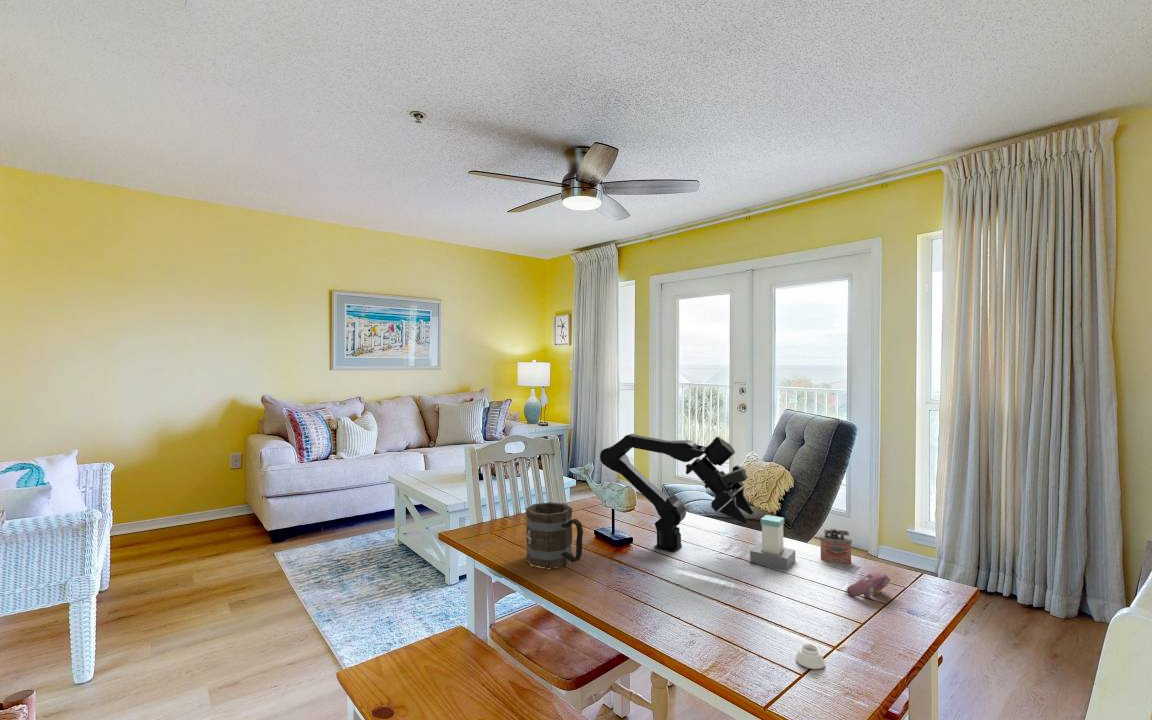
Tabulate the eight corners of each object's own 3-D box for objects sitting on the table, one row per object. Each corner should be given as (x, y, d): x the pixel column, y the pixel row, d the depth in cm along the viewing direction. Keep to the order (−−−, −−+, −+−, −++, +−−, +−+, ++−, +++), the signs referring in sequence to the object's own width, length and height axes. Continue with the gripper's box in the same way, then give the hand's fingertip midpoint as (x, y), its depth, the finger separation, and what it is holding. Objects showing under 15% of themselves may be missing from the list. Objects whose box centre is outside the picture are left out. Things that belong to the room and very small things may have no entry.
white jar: (827, 672, 96) (821, 657, 101) (827, 656, 96) (821, 642, 101) (798, 668, 97) (793, 654, 102) (797, 653, 97) (793, 639, 102)
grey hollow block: (750, 563, 146) (750, 550, 146) (759, 554, 152) (759, 542, 152) (787, 571, 140) (787, 558, 140) (795, 562, 146) (795, 550, 146)
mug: (516, 560, 151) (516, 508, 151) (550, 548, 160) (550, 499, 160) (564, 580, 137) (563, 523, 137) (598, 565, 147) (597, 512, 147)
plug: (760, 561, 146) (760, 518, 146) (766, 556, 150) (766, 514, 150) (779, 566, 143) (779, 522, 143) (784, 560, 147) (784, 517, 147)
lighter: (820, 564, 146) (820, 529, 146) (819, 560, 150) (819, 525, 150) (852, 568, 143) (852, 532, 143) (851, 564, 147) (850, 528, 147)
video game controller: (859, 606, 125) (872, 585, 122) (843, 591, 128) (855, 570, 125) (884, 598, 129) (897, 577, 126) (868, 583, 133) (880, 563, 130)
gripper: (722, 463, 144) (765, 508, 138) (736, 453, 160) (774, 492, 155) (694, 489, 147) (735, 534, 142) (710, 476, 164) (747, 516, 158)
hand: (749, 517), depth 149 cm, fingers open, 9 cm apart
